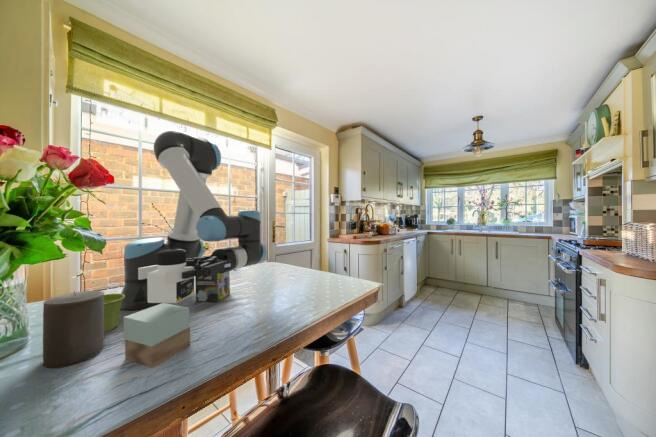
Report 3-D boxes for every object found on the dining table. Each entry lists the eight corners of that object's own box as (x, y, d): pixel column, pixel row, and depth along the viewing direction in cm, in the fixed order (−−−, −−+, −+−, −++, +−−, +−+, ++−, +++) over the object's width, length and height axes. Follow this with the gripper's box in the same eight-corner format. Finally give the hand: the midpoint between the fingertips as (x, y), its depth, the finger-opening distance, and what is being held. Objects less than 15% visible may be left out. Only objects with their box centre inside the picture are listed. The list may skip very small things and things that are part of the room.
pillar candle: (48, 374, 48) (48, 301, 48) (38, 358, 53) (38, 292, 53) (110, 351, 57) (111, 289, 56) (96, 339, 62) (97, 282, 61)
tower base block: (125, 360, 53) (125, 338, 53) (164, 340, 62) (164, 321, 62) (153, 369, 50) (152, 346, 50) (190, 347, 59) (190, 327, 59)
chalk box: (230, 294, 97) (230, 258, 96) (217, 302, 88) (217, 263, 87) (209, 293, 98) (209, 257, 97) (194, 301, 88) (194, 262, 88)
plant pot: (121, 318, 74) (121, 291, 74) (128, 327, 68) (128, 298, 68) (78, 329, 67) (77, 299, 67) (81, 341, 61) (81, 307, 61)
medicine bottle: (177, 303, 55) (176, 252, 55) (146, 303, 55) (146, 252, 55) (194, 293, 62) (194, 247, 62) (167, 293, 62) (167, 247, 62)
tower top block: (123, 338, 53) (123, 316, 53) (163, 321, 62) (163, 302, 62) (151, 346, 50) (151, 323, 50) (189, 327, 59) (188, 307, 59)
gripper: (256, 274, 71) (184, 299, 50) (203, 267, 79) (124, 286, 58) (256, 249, 71) (184, 264, 50) (203, 245, 79) (124, 256, 58)
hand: (152, 276), depth 54 cm, fingers closed on medicine bottle, 9 cm apart
